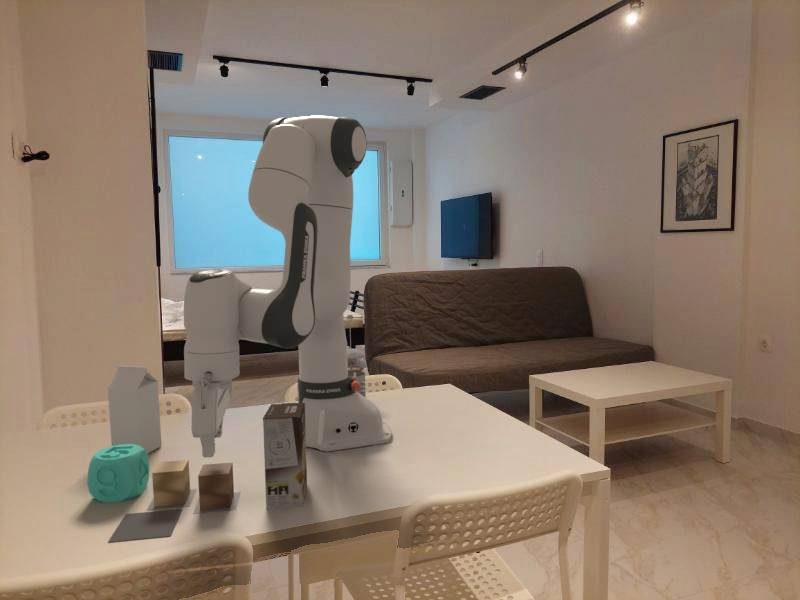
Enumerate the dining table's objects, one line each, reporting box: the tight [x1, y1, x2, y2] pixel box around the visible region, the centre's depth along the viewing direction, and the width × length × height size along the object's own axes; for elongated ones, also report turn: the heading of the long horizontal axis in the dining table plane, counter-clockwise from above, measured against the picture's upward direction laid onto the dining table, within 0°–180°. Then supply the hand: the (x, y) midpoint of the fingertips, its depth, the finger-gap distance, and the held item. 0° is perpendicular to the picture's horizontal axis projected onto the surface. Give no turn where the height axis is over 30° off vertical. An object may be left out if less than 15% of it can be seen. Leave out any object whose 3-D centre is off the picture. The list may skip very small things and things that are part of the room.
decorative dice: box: [87, 444, 150, 503], centre depth 103 cm, size 8×8×8 cm
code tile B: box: [146, 488, 198, 511], centre depth 100 cm, size 7×7×1 cm
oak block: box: [151, 459, 191, 507], centre depth 99 cm, size 5×5×6 cm
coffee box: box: [262, 402, 308, 510], centre depth 99 cm, size 9×6×16 cm
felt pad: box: [107, 508, 183, 544], centre depth 91 cm, size 9×9×1 cm
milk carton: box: [107, 365, 162, 455], centre depth 123 cm, size 7×7×19 cm
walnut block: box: [197, 461, 235, 510], centre depth 98 cm, size 5×5×6 cm
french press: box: [346, 314, 367, 398], centre depth 160 cm, size 10×12×25 cm
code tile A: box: [192, 491, 241, 515], centre depth 98 cm, size 7×7×1 cm
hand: (212, 445), depth 97 cm, fingers open, 8 cm apart
